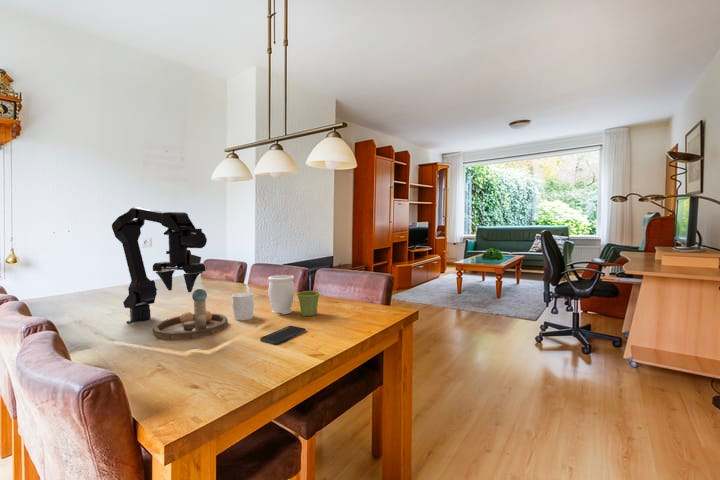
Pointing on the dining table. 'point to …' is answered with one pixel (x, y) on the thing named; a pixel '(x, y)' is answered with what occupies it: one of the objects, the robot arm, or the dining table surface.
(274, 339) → the phone
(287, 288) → the jar
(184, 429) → the dining table surface
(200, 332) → the walnut tray
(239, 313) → the white cup
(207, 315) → the loose bead
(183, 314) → the loose bead
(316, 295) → the plant pot
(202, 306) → the bead post
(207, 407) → the dining table surface
